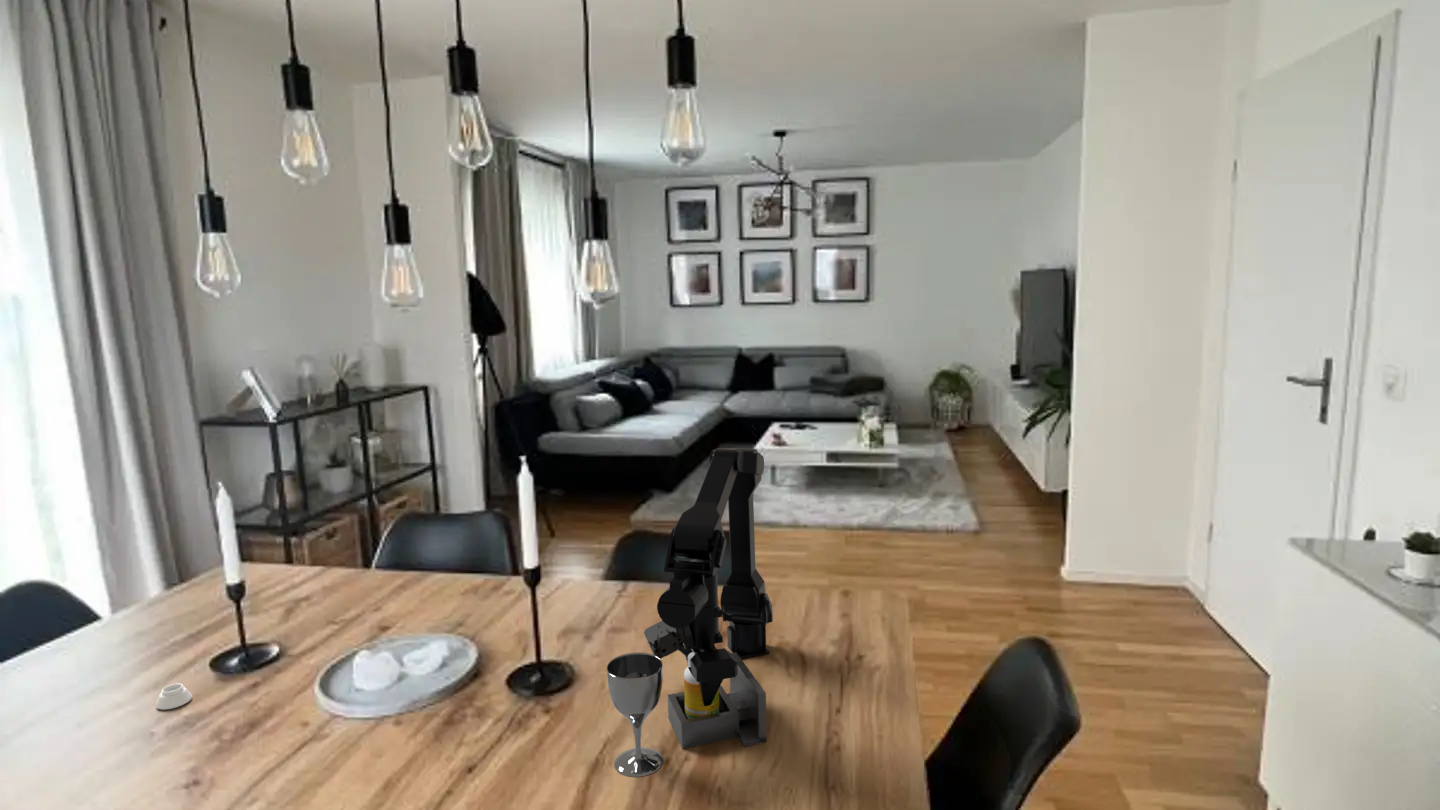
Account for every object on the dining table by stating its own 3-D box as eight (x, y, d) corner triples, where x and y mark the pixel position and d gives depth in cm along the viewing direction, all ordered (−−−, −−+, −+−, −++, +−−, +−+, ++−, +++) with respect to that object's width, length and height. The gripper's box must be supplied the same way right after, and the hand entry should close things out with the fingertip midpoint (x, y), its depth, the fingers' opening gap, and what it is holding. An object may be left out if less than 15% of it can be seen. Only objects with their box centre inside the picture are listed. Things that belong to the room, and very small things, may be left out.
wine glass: (612, 748, 117) (608, 654, 114) (665, 744, 117) (662, 650, 115) (609, 780, 109) (604, 680, 107) (666, 776, 109) (662, 676, 107)
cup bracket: (737, 697, 130) (736, 652, 129) (766, 741, 117) (765, 692, 116) (664, 710, 127) (663, 664, 126) (686, 758, 114) (684, 707, 112)
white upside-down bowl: (149, 709, 131) (171, 713, 130) (147, 693, 131) (169, 696, 129) (177, 694, 136) (198, 698, 135) (175, 679, 136) (196, 682, 134)
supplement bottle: (715, 725, 118) (714, 665, 117) (681, 722, 119) (679, 662, 118) (722, 706, 123) (721, 649, 122) (689, 703, 124) (687, 646, 123)
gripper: (635, 586, 125) (639, 677, 127) (661, 634, 107) (665, 738, 110) (702, 577, 128) (704, 666, 131) (737, 622, 111) (740, 723, 113)
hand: (702, 696), depth 121 cm, fingers closed on supplement bottle, 5 cm apart
